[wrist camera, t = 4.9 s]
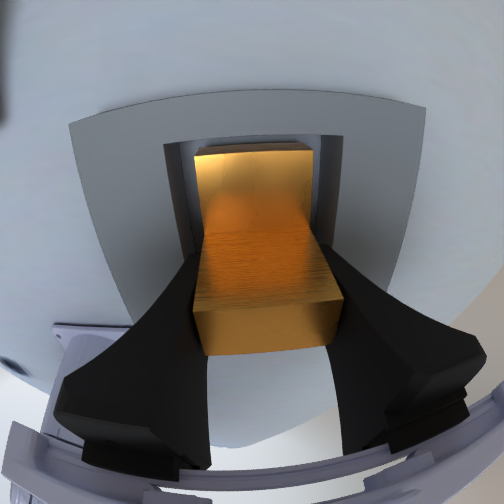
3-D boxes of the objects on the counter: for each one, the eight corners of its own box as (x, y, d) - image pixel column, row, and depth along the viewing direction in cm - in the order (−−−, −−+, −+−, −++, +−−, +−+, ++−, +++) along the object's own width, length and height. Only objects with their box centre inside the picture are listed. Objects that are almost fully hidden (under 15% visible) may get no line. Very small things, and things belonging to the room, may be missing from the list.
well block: (365, 275, 15) (381, 304, 13) (144, 291, 15) (134, 324, 13) (393, 100, 10) (426, 107, 7) (97, 114, 9) (68, 124, 7)
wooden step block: (299, 250, 13) (332, 343, 8) (212, 256, 13) (205, 355, 8) (303, 142, 10) (363, 193, 5) (199, 147, 10) (169, 203, 5)
